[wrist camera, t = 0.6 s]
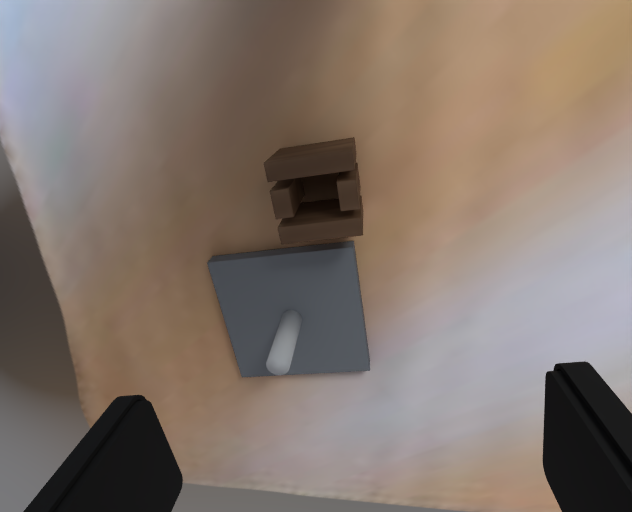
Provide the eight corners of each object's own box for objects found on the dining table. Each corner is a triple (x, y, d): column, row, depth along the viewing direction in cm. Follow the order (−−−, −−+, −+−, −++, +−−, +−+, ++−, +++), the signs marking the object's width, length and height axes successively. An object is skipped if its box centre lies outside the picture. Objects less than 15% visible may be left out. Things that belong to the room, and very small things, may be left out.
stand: (212, 256, 39) (175, 300, 31) (353, 240, 36) (350, 284, 29) (245, 368, 44) (220, 429, 37) (369, 360, 42) (371, 424, 34)
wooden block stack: (280, 148, 34) (263, 163, 28) (354, 137, 33) (352, 149, 27) (293, 219, 36) (281, 244, 31) (363, 210, 35) (362, 235, 30)
